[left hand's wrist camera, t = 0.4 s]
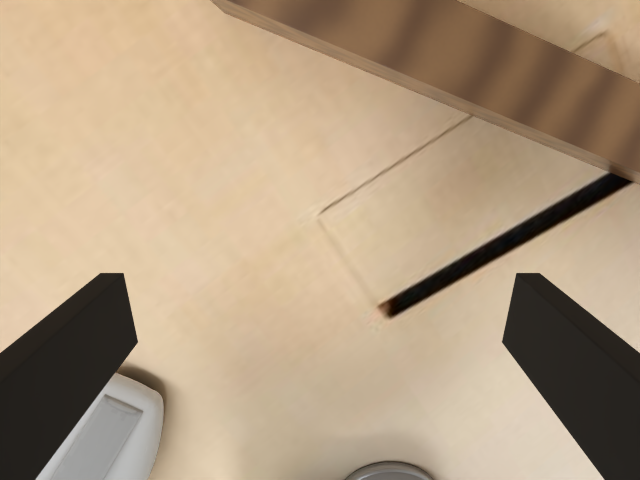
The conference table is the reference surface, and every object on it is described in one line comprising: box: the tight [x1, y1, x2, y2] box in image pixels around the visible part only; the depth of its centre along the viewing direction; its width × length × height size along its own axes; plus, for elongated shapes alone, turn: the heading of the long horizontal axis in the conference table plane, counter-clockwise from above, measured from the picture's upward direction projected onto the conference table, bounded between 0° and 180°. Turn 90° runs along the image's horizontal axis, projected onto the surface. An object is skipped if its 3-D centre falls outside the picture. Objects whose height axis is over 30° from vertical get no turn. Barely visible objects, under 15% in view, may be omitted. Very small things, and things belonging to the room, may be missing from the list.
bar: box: [211, 0, 640, 184], centre depth 33 cm, size 64×6×8 cm, turn 70°
